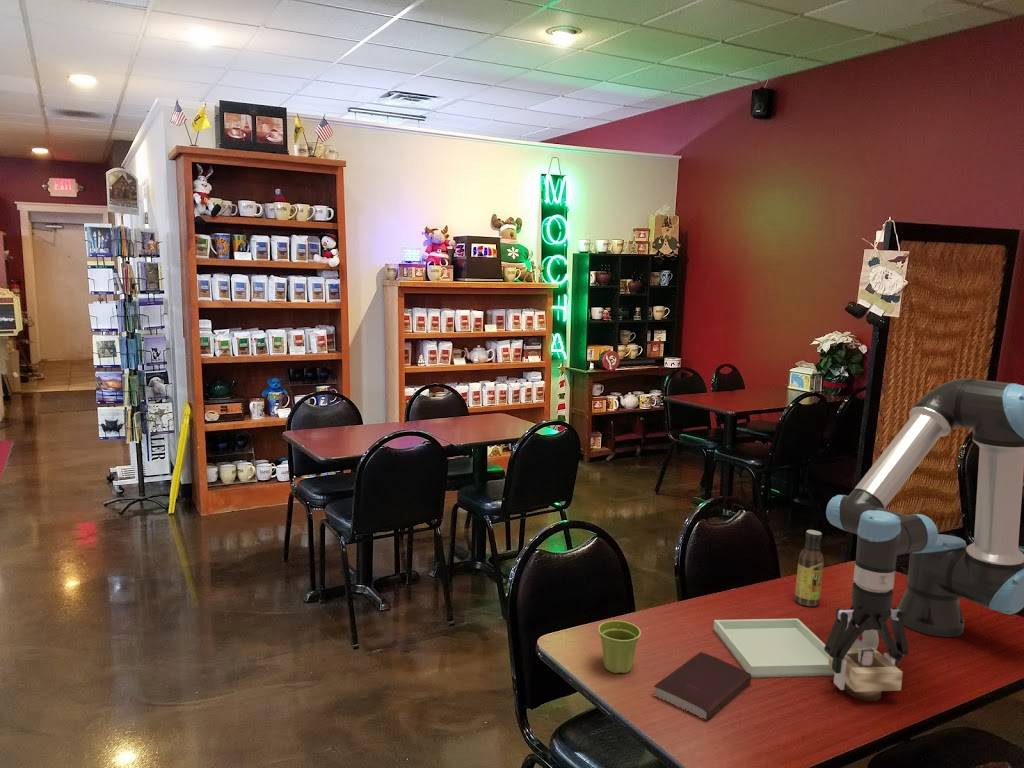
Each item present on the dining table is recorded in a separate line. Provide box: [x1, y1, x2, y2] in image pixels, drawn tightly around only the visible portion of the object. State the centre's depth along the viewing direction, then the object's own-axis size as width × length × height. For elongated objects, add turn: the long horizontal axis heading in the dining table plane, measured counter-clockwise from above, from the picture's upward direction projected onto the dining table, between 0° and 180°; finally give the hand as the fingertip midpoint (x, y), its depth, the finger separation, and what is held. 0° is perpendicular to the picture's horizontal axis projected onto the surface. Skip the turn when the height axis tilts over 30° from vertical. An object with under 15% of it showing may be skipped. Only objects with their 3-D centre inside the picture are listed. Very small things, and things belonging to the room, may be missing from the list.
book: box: [653, 651, 752, 720], centre depth 150 cm, size 12×19×3 cm, turn 136°
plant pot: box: [597, 619, 642, 674], centre depth 157 cm, size 9×9×9 cm
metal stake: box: [843, 646, 883, 702], centre depth 150 cm, size 7×7×10 cm
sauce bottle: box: [794, 529, 825, 607], centre depth 192 cm, size 6×6×20 cm
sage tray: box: [713, 618, 835, 679], centre depth 166 cm, size 22×22×3 cm
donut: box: [845, 616, 880, 650], centre depth 166 cm, size 10×4×10 cm, turn 19°
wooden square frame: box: [829, 648, 904, 692], centre depth 150 cm, size 10×10×4 cm
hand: (862, 685), depth 151 cm, fingers closed on wooden square frame, 10 cm apart
